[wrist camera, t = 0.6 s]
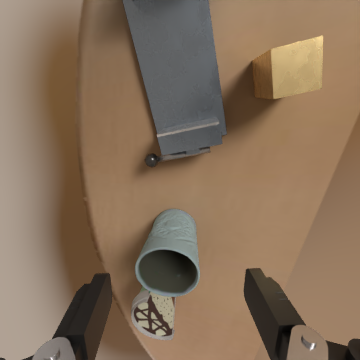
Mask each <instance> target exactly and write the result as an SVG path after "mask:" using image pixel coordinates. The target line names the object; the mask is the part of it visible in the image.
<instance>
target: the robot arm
mask: <svg viewBox="0 0 360 360" xmlns="http://www.w3.org/2000/svg"><path fill="white" fill-rule="evenodd" d="M244 297H245V301H246V303H247V305H248V308H249V310H250V312H251V315H252V317H253V319H254V322H255V324H256V326H257V329H258V331H259V334H260V336H261V338H262V341H263V343H264V345H265V348H266V350H267V352H268V355H269V357H270V359H271V360H360V339H352V340H350V341H349V343H348V346H344V345H340V344H337V343H333V342H329V341H326V340H324V338H323V337H322V336H321V335H320V334H319V333H318V332H317V331H315V330H314V329H312V328H310V327H308V326H306V324H305V323H304V322H303V320H302V319H301V317H300V316H299V314H298V313H297V311H296V310H295V308H294V307H293V305H292V304H291V302H290V301H289V300H288V298H287V296H286V295H285V293H284V292H283V290H282V289H281V287H280V286H279V284H278V283H277V282H275V281H274V280H273V279H272V278H271V277H265V275H264V273H263V272H262V270H261V269H260V268H252V269H246V274H245V283H244ZM111 303H112V289H111V279H110V274H109V273H99V274H95V275H94V277H93V279H92V281H91V283H90V284H84V285H83V286H82V287H81V288H80V289H79V290H78V291H77V292H76V294H75V296H74V298H73V300H72V302H71V304H70V306H69V308H68V310H67V311H66V313H65V315H64V317H63V319H62V321H61V323H60V325H59V326H58V329H57V331H56V333H55V334H54V336H53V338H52V339H51V340H49V341H48V342H46V343H45V344H43V345H42V346H41V347H40V348H39V349H38V350H37V352H36V353H35V355H33V356H31V357H28V358H26V359H23V360H95V357H96V354H97V351H98V347H99V344H100V340H101V337H102V334H103V331H104V327H105V324H106V321H107V318H108V314H109V311H110V308H111ZM0 360H5V359H4V358H0Z"/></svg>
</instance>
